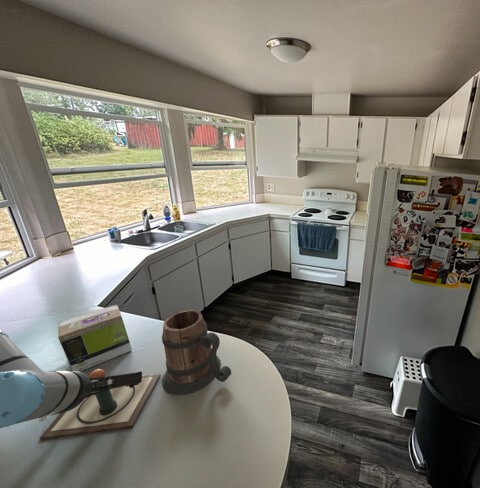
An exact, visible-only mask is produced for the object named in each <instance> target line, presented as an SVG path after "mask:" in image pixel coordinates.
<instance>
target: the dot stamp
mask: <svg viewBox="0 0 480 488" xmlns="http://www.w3.org/2000/svg"><path fill="white" fill-rule="evenodd" d="M88 377H89V378H92V379H93V378H99V377H105V378H106V377H107V376H106V371H105V369H102V368H97V369H94V370H93V371H91V372H90V373H89V375H88ZM95 392H97V391H95ZM96 398H97V401H98V403H99V406H100V408H99V413H100V415H108V414H110V413H112V412H113V411H114V410H115V409H116V408H117V402H116V401H115V400H113V397H112V394H111V391H110V389H109V390H105V391H104V392H103V393H100V394H97V395H96Z"/></svg>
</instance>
